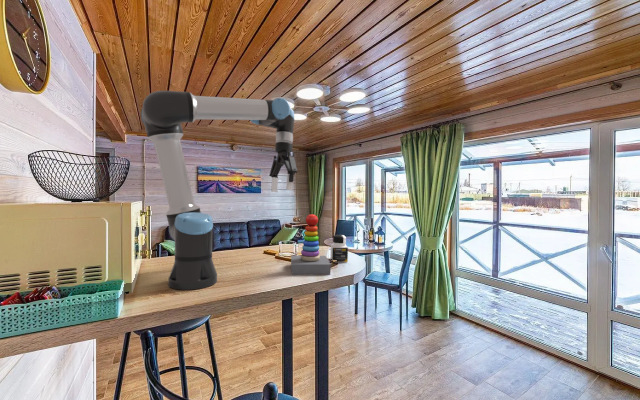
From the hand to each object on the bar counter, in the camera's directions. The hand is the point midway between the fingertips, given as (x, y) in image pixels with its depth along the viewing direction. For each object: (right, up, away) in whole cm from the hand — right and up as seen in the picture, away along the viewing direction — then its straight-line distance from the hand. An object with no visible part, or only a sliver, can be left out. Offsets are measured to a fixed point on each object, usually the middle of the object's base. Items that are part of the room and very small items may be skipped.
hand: (281, 191), depth 127 cm
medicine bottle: (+26, -33, +9) cm, 43 cm away
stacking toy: (+13, -29, -8) cm, 32 cm away
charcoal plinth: (+13, -33, -8) cm, 36 cm away
